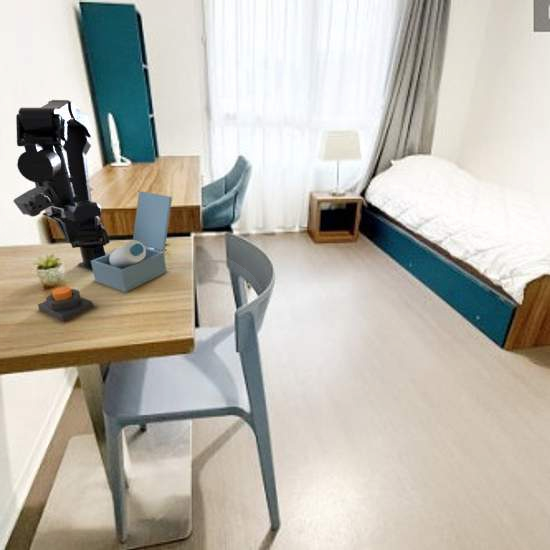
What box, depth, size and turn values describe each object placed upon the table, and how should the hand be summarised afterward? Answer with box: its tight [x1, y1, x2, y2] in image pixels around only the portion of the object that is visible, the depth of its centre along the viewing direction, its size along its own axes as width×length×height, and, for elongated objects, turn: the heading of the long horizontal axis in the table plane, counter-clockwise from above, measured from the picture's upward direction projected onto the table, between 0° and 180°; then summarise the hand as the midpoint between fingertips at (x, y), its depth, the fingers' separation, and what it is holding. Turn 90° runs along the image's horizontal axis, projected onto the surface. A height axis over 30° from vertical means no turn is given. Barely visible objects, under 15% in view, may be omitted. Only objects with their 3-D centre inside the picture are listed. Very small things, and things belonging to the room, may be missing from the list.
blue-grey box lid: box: [132, 190, 173, 252], centre depth 99 cm, size 14×12×1 cm
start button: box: [51, 286, 72, 301], centre depth 80 cm, size 4×4×2 cm
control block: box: [37, 288, 94, 323], centre depth 81 cm, size 9×7×4 cm
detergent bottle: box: [109, 239, 146, 269], centre depth 93 cm, size 5×5×13 cm
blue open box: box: [91, 247, 167, 293], centre depth 96 cm, size 14×12×6 cm
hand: (71, 242), depth 84 cm, fingers closed
